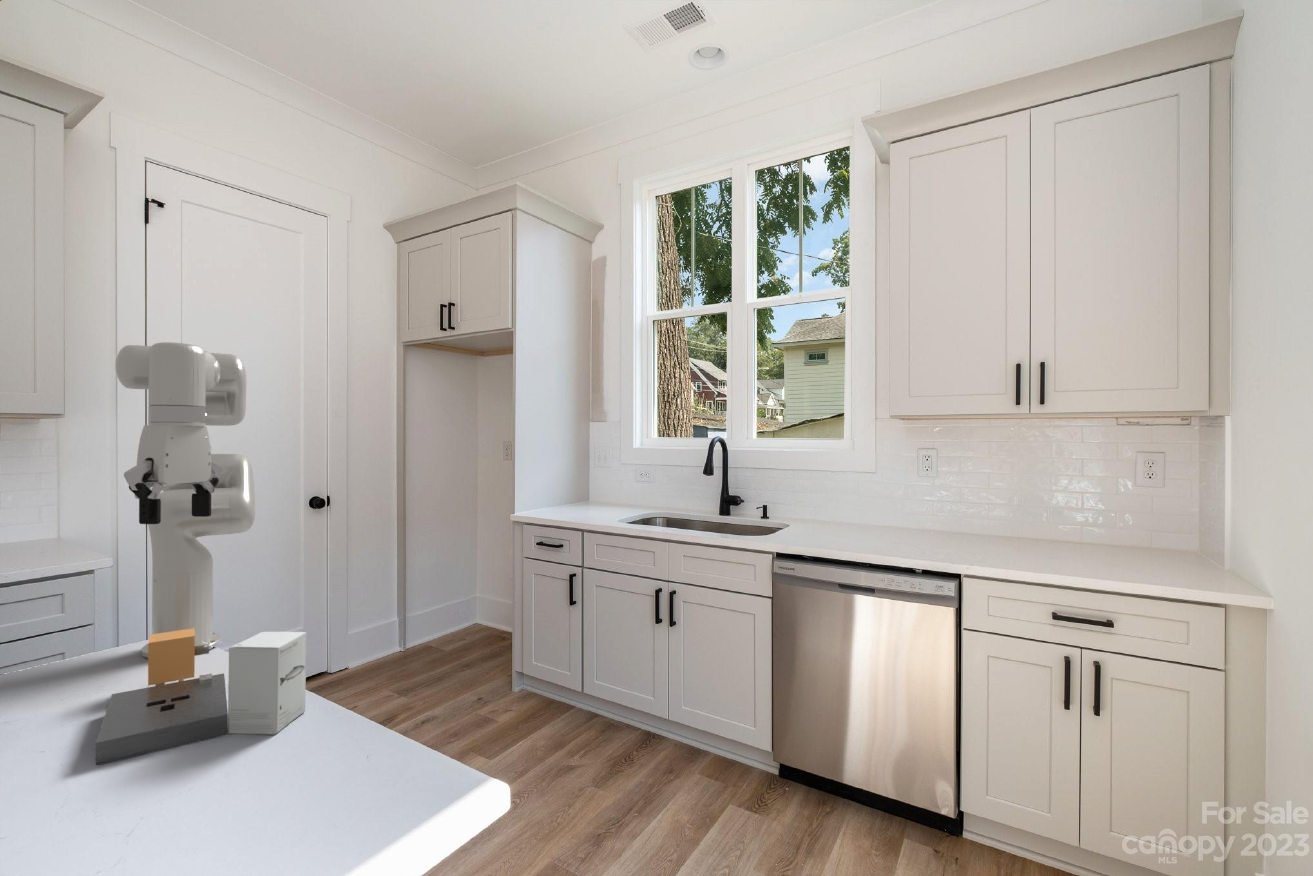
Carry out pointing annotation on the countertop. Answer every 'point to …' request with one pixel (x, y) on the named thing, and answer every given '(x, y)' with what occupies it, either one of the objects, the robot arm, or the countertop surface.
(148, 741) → the dark gray rectangular board
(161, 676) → the orange block
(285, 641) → the supplement box
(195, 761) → the countertop surface
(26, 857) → the countertop surface
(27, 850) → the countertop surface
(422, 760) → the countertop surface
